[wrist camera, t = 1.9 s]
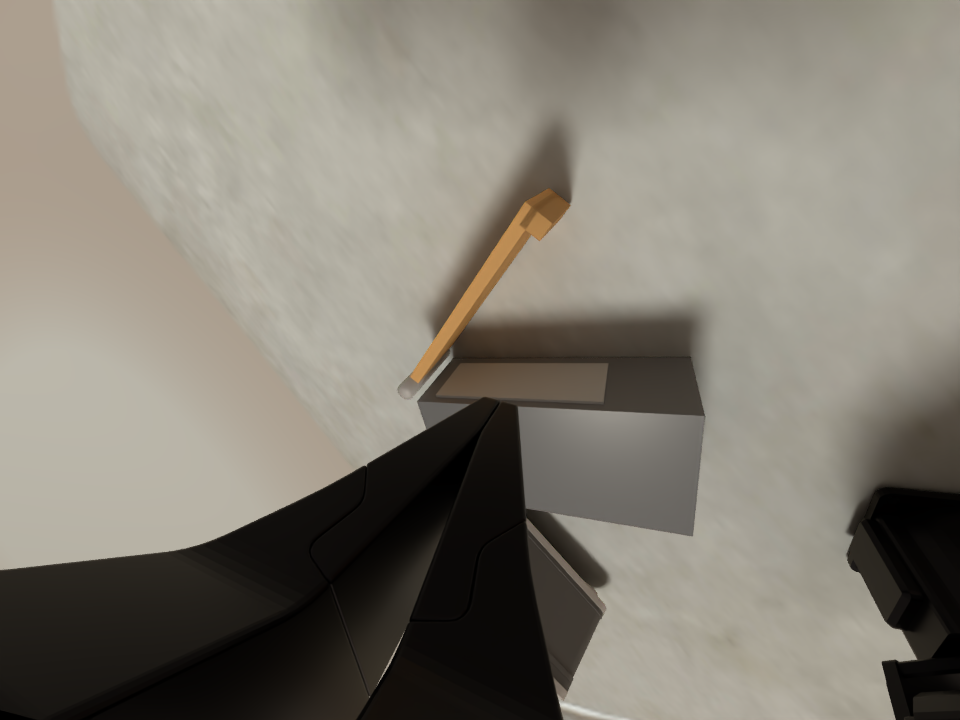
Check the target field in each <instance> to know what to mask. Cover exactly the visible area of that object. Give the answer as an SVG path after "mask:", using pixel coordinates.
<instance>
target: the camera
mask: <svg viewBox="0 0 960 720" xmlns="http://www.w3.org/2000/svg"><path fill="white" fill-rule="evenodd" d="M526 519H527V518H526ZM526 524H527V529H528V543H529V551H530V560H531V569H532V575H533V581H534V586H535V592H536V597H537V603H538V607H539V612H540V617H541V621H542V626H543V631H544V635H545V640H546V645H547V649H548V654H549V659H550V664H551V668H552V673H553V678H554V682H555V687H556V692H557V696H558V697H559V698H560V699H561V700H563V701H564V699H565V697H566V695H567V692H568V689H569V687H570V685H571V683H572V681H573V676H574V674H575V672H576V670H577V668H578V666H579V663H580V661H581V659H582V657H583V655H584V653H585V650H586V648H587V646H588V644H589V642H590V640H591V638H592V635H593V633H594V631H595V629H596V627H597V625H598V622H599V620H600V619H601V618H602V616H603V615H604V613H605V611H606V606H605V604H604V603H603V602H602V601H601V600H600V598H599V597H598V595H597V592H596V591H595V589H594V588H593V587H592V586H590V585H589V584H588V583H587V582H584V581H583V580H582V579H581V577H580V576H579V575H578V574H577V573H576V572H575V571H574V570H573V569H572V567H571V566H570V565H569V564H568V563H567V562H566V561H565V560H564V559H563V557H562V556H561V555H560V554H559V553H558V552H557V551H556V550H555V549H554V548H553V546H552V545H551V544H550V543H549V542H548V541H547V540H546V539H545V538H544V536H543V535H542V534H541V533H540V532H539V531H538V530H537V529H536V528H535V526H534V525H533V524H532V523H531V522H530V521H529V520H528V519H527V521H526Z"/></svg>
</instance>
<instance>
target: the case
mask: <svg viewBox="0 0 960 720" xmlns="http://www.w3.org/2000/svg"><path fill="white" fill-rule="evenodd" d="M449 354H450V350H448V351H447V352H446V353H445V354H444V355H443V356H442V357H441V359H440V360H439V361H438V362H437V363H436V364H435V365H434V366H433V368H432V369H431V370H430V371H429V372H428V373H427V374H426V375H425V376H424V378H423V379H422V380H421V381H420V382H419V383H417V382H416V381H414V380H413V379H412V378H410V376H411V374H412V373H413V372H412V373H411V374H410V375H409V376H408V377H407V378H406V379H405V380H404V381H403V382H402V383H401V384H400V386H399V387H398V389H397V390H398V393H399V395H400V396H401V397H402V398H404V399H407V400H409V399H412V397H413V396H414V395H415V394H416V393H417V392H418V391H419V389H420V388H421V387H422V386H423V385H424V384H425V382H426V381H427V380H428V379H429V378H430V377H431V376H432V374H433V373H434V372H435V371H436V370H437V369H438V367H439V366H440V365H441V364H442V363H443V362H444V360H445V359H446V358H447V357H448V356H449ZM482 397H489V398H493V399H497V400H499V401H500V402H502V401H504V402H508V403H512V404H516V405H517V406H518V414H519V427H520V440H521V453H522V466H523V479H524V492H525V505H526V509H532V510H538V511H544V512H550V513H556V514H562V515H568V516H574V517H580V518H586V519H592V520H598V521H604V522H610V523H616V524H622V525H628V526H634V527H640V528H646V529H652V530H658V531H664V532H670V533H676V534H682V535H688V536H693V530H694V520H695V510H696V500H697V490H698V480H699V470H700V460H701V450H702V440H703V430H704V420H705V414H704V410H703V406H702V402H701V398H700V394H699V390H698V386H697V382H696V377H695V373H694V369H693V365H692V361H691V357H630V358H453V359H452V360H451V362H450V363H449V364H448V365H447V366H446V368H445V369H444V370H443V371H442V372H441V374H440V375H439V376H438V377H437V378H436V379H435V381H434V382H433V383H432V384H431V385H430V387H429V388H428V389H427V390H426V391H425V393H424V394H423V395H422V396H421V397H420V399H419V400H418V401H417V403H418V406H419V409H420V411H421V414H422V417H423V420H424V423H425V426H426V429H428V428H430V427H432V426H433V425H435V424H437V423H439V422H440V421H442V420H444V419H446V418H447V417H449V416H451V415H453V414H454V413H456V412H458V411H459V410H461V409H463V408H465V407H466V406H468V405H470V404H472V403H473V402H475V401H477V400H478V399H480V398H482Z"/></svg>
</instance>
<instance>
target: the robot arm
mask: <svg viewBox="0 0 960 720" xmlns="http://www.w3.org/2000/svg"><path fill="white" fill-rule="evenodd" d="M889 497H891V498H889ZM526 521H527V519H526V505H525V492H524V479H523V466H522V453H521V440H520V427H519V414H518V406H517V405H516V404H512V403H508V402H504V401H502V402H500V401H499V400H497V399H493V398H489V397H482V398H480V399H478V400H477V401H475V402H473V403H472V404H470V405H468V406H466V407H465V408H463V409H461V410H459V411H458V412H456V413H454V414H453V415H451V416H449V417H447V418H446V419H444V420H442V421H440V422H439V423H437V424H435V425H433V426H432V427H430V428H428V429H427V430H425V431H423V432H421V433H420V434H418V435H416V436H414V437H413V438H411V439H409V440H408V441H406V442H404V443H402V444H401V445H399V446H397V447H395V448H394V449H392V450H390V451H388V452H387V453H385V454H383V455H382V456H380V457H378V458H376V459H375V460H373V461H371V462H369V463H368V464H367V467H366V466H362V467H361V468H359V469H357V470H355V471H354V472H352V473H350V474H348V475H347V476H345V477H343V478H341V479H340V480H338V481H336V482H334V483H332V484H330V485H328V486H327V487H325V488H323V489H321V490H319V491H317V492H315V493H313V494H311V495H309V496H307V497H304V498H302V499H300V500H298V501H296V502H294V503H292V504H290V505H288V506H286V507H284V508H281V509H279V510H277V511H275V512H273V513H271V514H269V515H267V516H264V517H262V518H260V519H258V520H256V521H254V522H252V523H250V524H248V525H245V526H243V527H241V528H239V529H237V530H235V531H232V532H231V533H228V534H226V535H224V536H221V537H219V538H217V539H214V540H212V541H209V542H206V543H203V544H200V545H197V546H193V547H190V548H186V549H181V550H176V551H169V552H162V553H153V554H144V555H135V556H126V557H116V558H107V559H98V560H89V561H81V562H71V563H62V564H53V565H44V566H36V567H26V568H17V569H8V570H0V720H563V716H562V712H561V708H560V704H559V700H558V696H557V692H556V687H555V682H554V678H553V673H552V668H551V664H550V659H549V654H548V649H547V645H546V640H545V635H544V631H543V626H542V621H541V617H540V612H539V607H538V603H537V597H536V592H535V586H534V581H533V575H532V569H531V560H530V551H529V543H528V529H527V524H526ZM849 552H850V554H849V556H848V559H847V561H848V563H849V565H850V567H851V569H852V570H854V571H856V572H859V573H860V574H861V575H862V577H863V579H864V581H865V583H866V585H867V587H868V589H869V591H870V593H871V595H872V597H873V599H874V601H875V603H876V605H877V607H878V609H879V611H880V612H881V614H882V616H883V618H884V620H885V622H886V623H887V624H889V625H890V626H891V627H892V628H895V629H900V630H902V632H903V634H904V635H905V637H906V639H907V641H908V643H909V645H910V647H911V648H912V650H913V652H914V654H915V656H916V658H917V660H911V661H903V662H898V661H897V660H889V661H882V666H883V670H884V674H885V678H886V684H887V688H888V692H889V696H890V699H891V703H892V707H893V711H894V715H895V718H896V720H960V495H959V494H949V493H939V492H929V491H919V490H910V489H900V488H881V489H879V490H877V491H876V492H875V493H874V496H873V498H872V501H871V503H870V506H869V508H868V510H867V513H866V515H865V518H864V519H863V520H862V521H861V522H860V523H859V525H858V527H857V530H856V532H855V535H854V537H853V540H852V542H851V545H850V547H849ZM404 631H405V632H404ZM403 633H404V634H403ZM402 635H403V637H402ZM401 637H402V639H401ZM400 639H401V642H400V644H399V646H398V648H397V650H396V653H395V655H394V657H393V659H392V661H391V663H390V665H389V667H388V669H387V670H386V672H385V674H384V675H383V677H382V679H381V680H380V678H381V676H382V674H383V672H384V670H385V668H386V666H387V664H388V662H389V660H390V658H391V656H392V655H393V653H394V651H395V648H396V647H397V645H398V643H399V641H400ZM379 680H380V682H379ZM378 682H379V684H378ZM377 684H378V685H377ZM376 686H377V687H376ZM369 696H370V698H369Z"/></svg>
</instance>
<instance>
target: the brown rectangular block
mask: <svg viewBox="0 0 960 720" xmlns="http://www.w3.org/2000/svg"><path fill="white" fill-rule="evenodd" d="M570 206H571V205H570V204H569V203H567V202H566V201H565V200H564V199H562V198H561V197H560V196H559V195H557V194H556V193H555V192H554V191H552V190H551V189H550V188H548V189H547V190H545V191H543V192H541V193H540V194H538V195H536V196H534V197H533V198H531V199H529V200H527V201H526V202H525V203H524V204H523V206H522V207H521V209H520V210H519V212H518V213H517V215H516V216H515V218H514V219H513V221H512V222H511V224H510V225H509V227H508V228H507V230H506V232H505V233H504V235H503V236H502V238H501V239H500V241H499V242H498V244H497V245H496V247H495V248H494V250H493V251H492V253H491V254H490V256H489V257H488V259H487V260H486V262H485V263H484V265H483V266H482V268H481V269H480V271H479V272H478V274H477V275H476V277H475V279H474V280H473V282H472V283H471V285H470V286H469V288H468V289H467V291H466V292H465V294H464V295H463V297H462V298H461V300H460V301H459V303H458V304H457V306H456V307H455V309H454V310H453V312H452V313H451V315H450V316H449V318H448V319H447V321H446V322H445V324H444V326H443V327H442V329H441V330H440V332H439V333H438V335H437V336H436V338H435V339H434V341H433V342H432V344H431V345H430V347H429V348H428V350H427V351H426V353H425V354H424V356H423V357H422V359H421V360H420V362H419V363H418V365H417V366H416V368H415V369H414V371H413V373H412V374H411V376H410V378H412V379H413V380H414V381H416V382H417V383H419V382H420V381H421V380H422V379H423V378H424V376H425V375H426V374H427V373H428V372H429V371H430V370H431V369H432V368H433V366H434V365H435V364H436V363H437V362H438V361H439V360H440V359H441V357H442V356H443V355H444V354H445V353H446V352H447V351H448V350H449V348H450V347H451V346H452V345H453V344H454V342H455V341H456V339H457V338H458V337H459V335H460V334H461V332H462V331H463V330H464V328H465V327H466V325H467V324H468V323H469V321H470V320H471V318H472V317H473V316H474V314H475V313H476V311H477V310H478V309H479V307H480V306H481V305H482V303H483V302H484V300H485V299H486V298H487V296H488V295H489V293H490V292H491V291H492V289H493V288H494V286H495V285H496V284H497V282H498V281H499V279H500V278H501V277H502V275H503V274H504V272H505V271H506V270H507V268H508V267H509V265H510V264H511V263H512V261H513V260H514V258H515V257H516V256H517V254H518V253H519V251H520V250H521V249H522V247H523V246H524V244H525V243H526V242H527V240H528V239H529V237H530V236H531V235H532V236H534V237H535V238H536V239H537V240H539V241H540V240H541V239H542V238H543V237H544V236H545V235H546V234H547V233H548V232H549V231H550V230H551V229H552V228H553V227H554V225H555V224H556V223H557V222H558V221H559V220H560V219H561V218H562V216H563V215H564V214H565V212H566V211H567V210H568V208H569V207H570Z"/></svg>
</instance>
